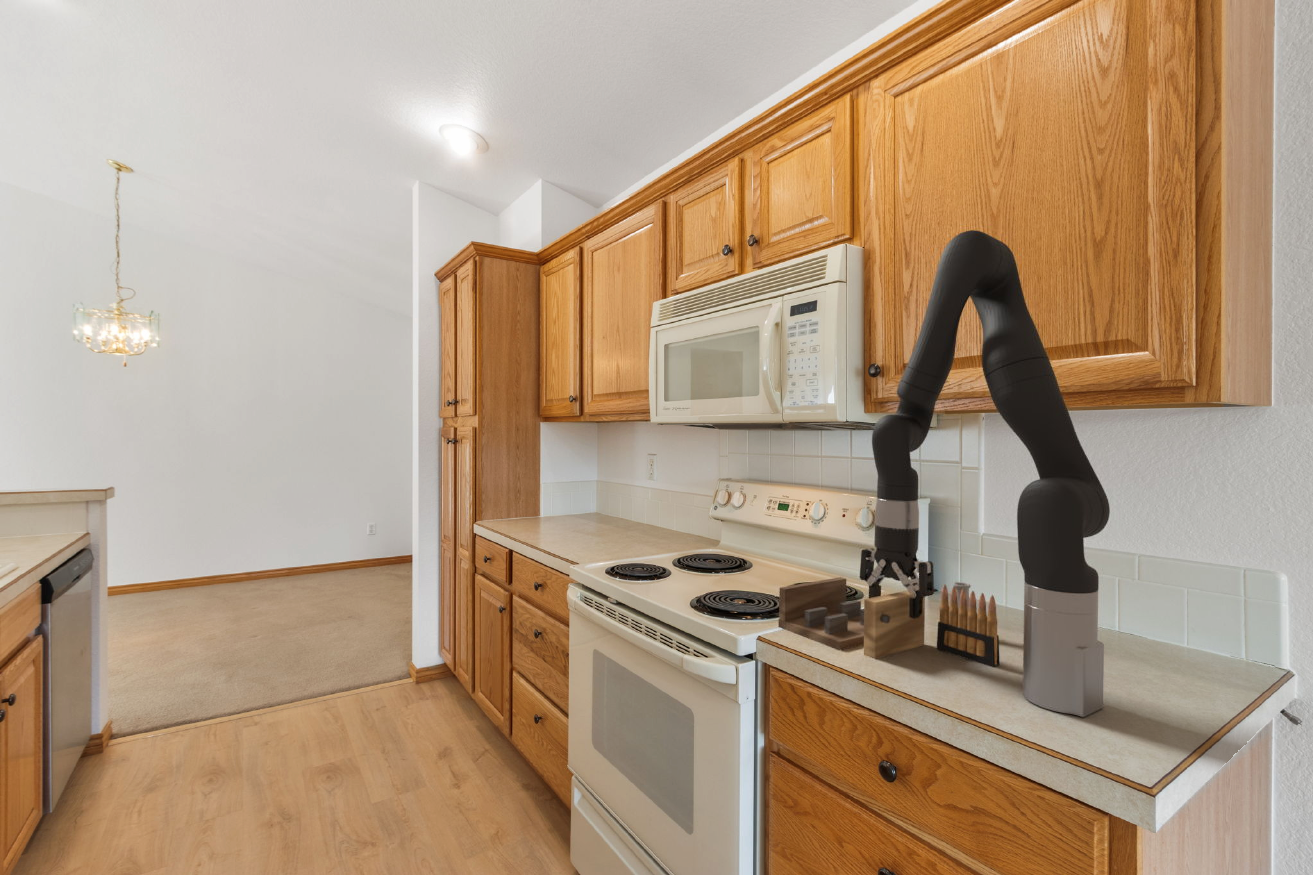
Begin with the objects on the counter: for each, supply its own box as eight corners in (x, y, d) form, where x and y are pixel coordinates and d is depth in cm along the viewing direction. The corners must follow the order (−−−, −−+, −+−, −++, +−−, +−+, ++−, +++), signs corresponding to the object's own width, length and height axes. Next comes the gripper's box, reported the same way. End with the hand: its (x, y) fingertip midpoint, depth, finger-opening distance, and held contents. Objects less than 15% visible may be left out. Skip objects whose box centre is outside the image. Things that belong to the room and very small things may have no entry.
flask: (977, 642, 119) (978, 590, 119) (936, 635, 123) (937, 584, 123) (984, 633, 125) (985, 583, 124) (945, 626, 129) (946, 577, 129)
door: (929, 646, 116) (929, 593, 116) (879, 661, 109) (880, 603, 109) (913, 641, 119) (913, 589, 119) (863, 655, 112) (864, 599, 112)
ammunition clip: (999, 665, 107) (1000, 595, 107) (993, 667, 106) (994, 597, 106) (942, 647, 116) (943, 582, 116) (936, 648, 115) (937, 583, 115)
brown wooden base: (902, 633, 124) (903, 593, 124) (839, 650, 114) (839, 606, 114) (839, 613, 137) (839, 576, 137) (778, 626, 128) (778, 587, 128)
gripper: (944, 528, 110) (942, 619, 111) (878, 516, 123) (876, 598, 123) (917, 531, 107) (915, 625, 107) (851, 519, 119) (849, 604, 119)
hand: (894, 611), depth 115 cm, fingers open, 8 cm apart
